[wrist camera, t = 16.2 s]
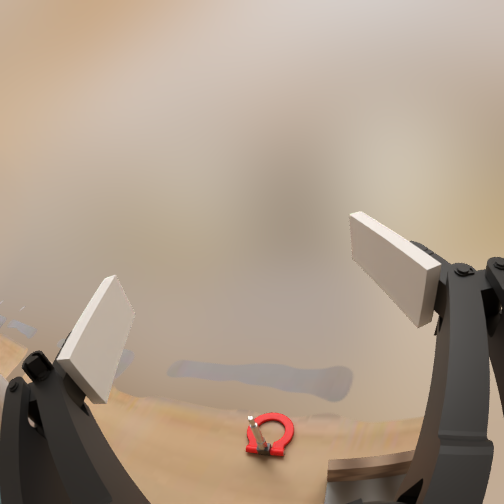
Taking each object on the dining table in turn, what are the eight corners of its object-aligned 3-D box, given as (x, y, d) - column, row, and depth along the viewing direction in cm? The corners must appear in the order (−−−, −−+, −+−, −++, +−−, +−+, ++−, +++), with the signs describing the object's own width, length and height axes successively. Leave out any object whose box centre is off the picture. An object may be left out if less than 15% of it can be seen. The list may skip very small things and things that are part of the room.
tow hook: (254, 413, 46) (241, 452, 38) (238, 373, 41) (220, 418, 33) (297, 416, 43) (288, 458, 35) (290, 375, 39) (279, 425, 30)
